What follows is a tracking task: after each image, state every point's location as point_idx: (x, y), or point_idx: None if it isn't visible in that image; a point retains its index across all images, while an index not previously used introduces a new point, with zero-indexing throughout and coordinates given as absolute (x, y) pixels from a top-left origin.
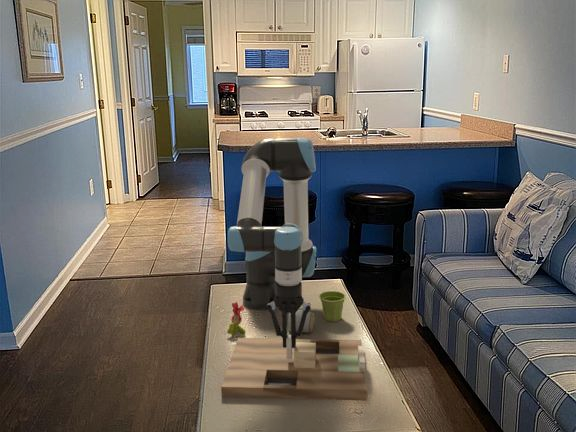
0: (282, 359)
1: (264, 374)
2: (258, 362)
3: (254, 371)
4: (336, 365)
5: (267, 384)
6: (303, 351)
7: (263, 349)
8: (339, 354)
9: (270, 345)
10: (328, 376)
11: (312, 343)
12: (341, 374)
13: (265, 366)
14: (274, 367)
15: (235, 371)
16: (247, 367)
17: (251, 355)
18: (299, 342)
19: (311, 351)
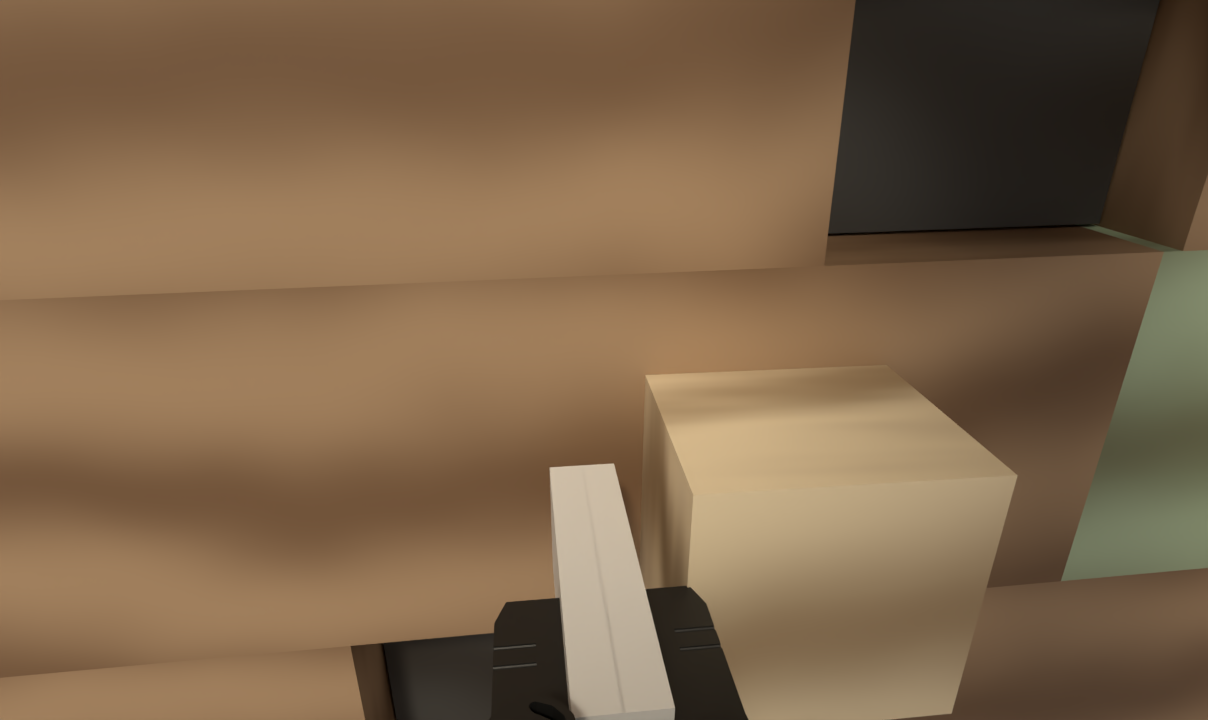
0: (483, 436)
1: (349, 716)
2: (198, 530)
3: (224, 687)
4: (1073, 490)
5: (399, 665)
6: (805, 712)
7: (131, 193)
8: (1179, 257)
9: (200, 40)
10: None
11: (962, 504)
12: (1072, 620)
13: (314, 593)
14: (422, 596)
15: (8, 714)
16: (109, 636)
17: (23, 381)
18: (758, 495)
19: (911, 698)
